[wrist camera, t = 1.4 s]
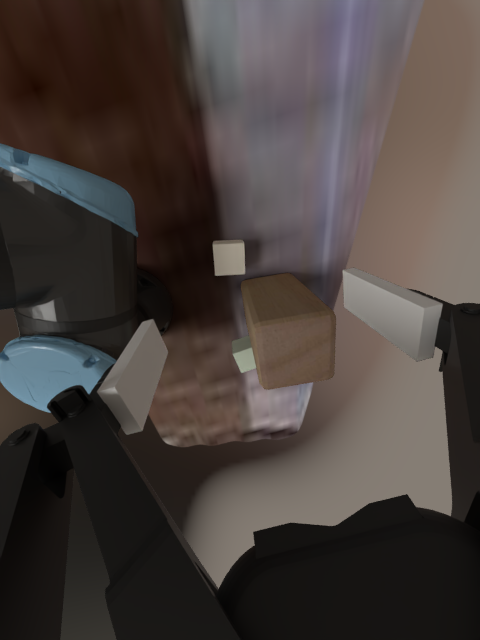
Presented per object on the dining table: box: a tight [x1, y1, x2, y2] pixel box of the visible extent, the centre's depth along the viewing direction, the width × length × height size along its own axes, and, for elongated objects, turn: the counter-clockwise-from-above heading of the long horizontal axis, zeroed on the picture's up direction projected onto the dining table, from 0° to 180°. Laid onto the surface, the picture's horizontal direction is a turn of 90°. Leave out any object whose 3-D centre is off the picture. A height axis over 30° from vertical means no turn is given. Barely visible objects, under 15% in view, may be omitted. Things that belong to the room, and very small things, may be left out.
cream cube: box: [213, 240, 245, 276], centre depth 39 cm, size 5×5×5 cm
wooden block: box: [241, 273, 336, 390], centre depth 37 cm, size 10×10×20 cm
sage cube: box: [232, 335, 256, 373], centre depth 48 cm, size 5×5×5 cm
